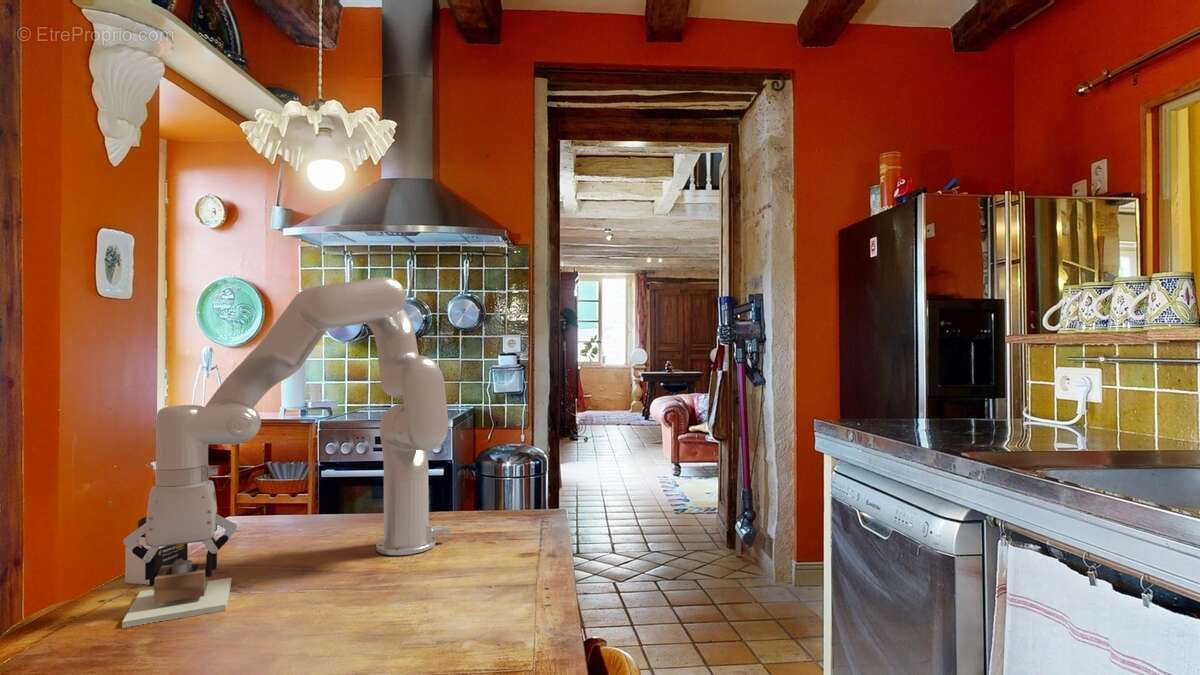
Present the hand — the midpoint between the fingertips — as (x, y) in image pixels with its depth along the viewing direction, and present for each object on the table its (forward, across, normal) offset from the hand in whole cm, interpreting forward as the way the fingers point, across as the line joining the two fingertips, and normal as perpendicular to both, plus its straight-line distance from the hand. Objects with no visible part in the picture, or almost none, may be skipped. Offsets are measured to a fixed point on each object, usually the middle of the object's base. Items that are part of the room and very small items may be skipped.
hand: (182, 578), depth 107 cm
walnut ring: (+2, 0, 0) cm, 2 cm away
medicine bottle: (+5, +6, -17) cm, 19 cm away
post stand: (+4, 0, 0) cm, 4 cm away
